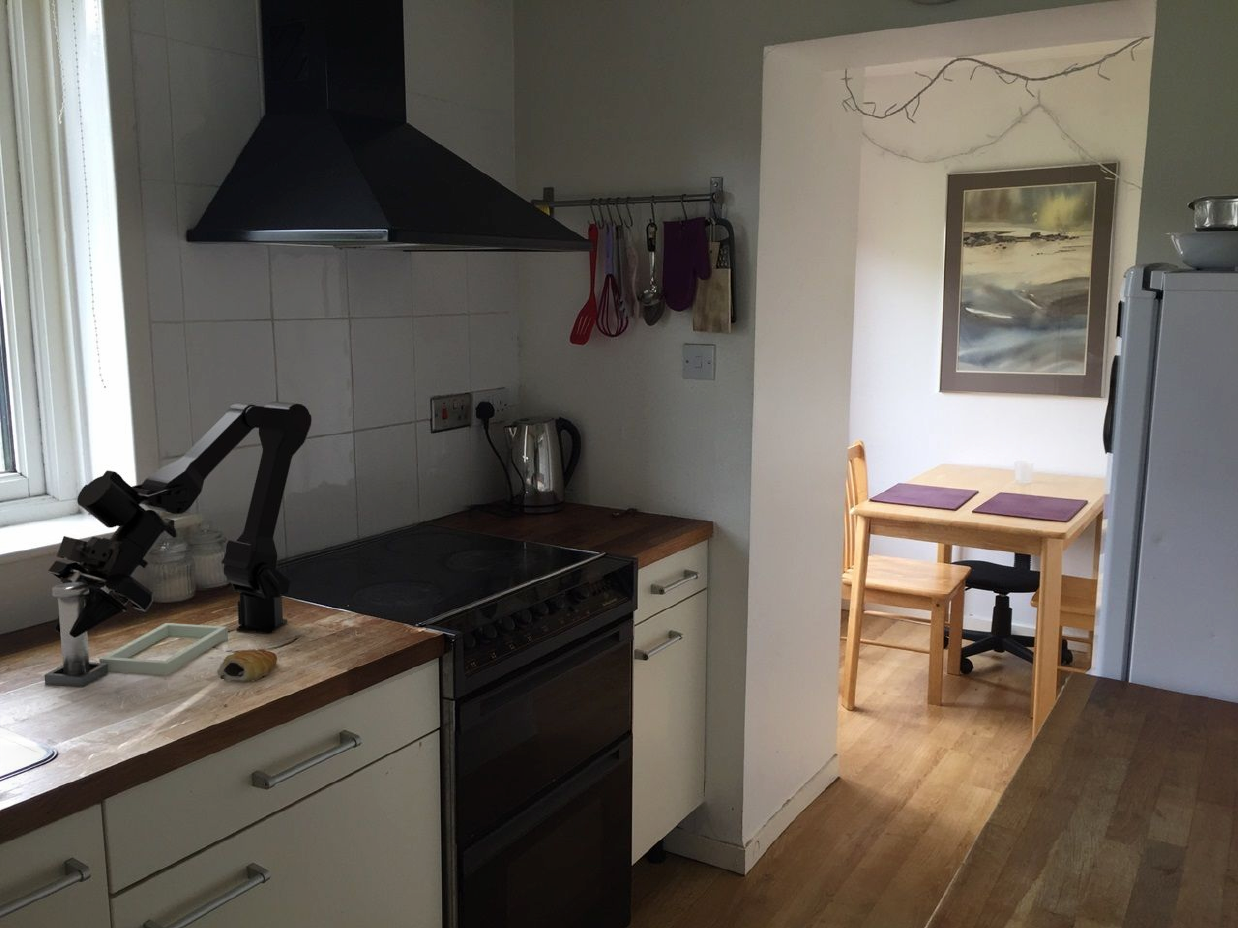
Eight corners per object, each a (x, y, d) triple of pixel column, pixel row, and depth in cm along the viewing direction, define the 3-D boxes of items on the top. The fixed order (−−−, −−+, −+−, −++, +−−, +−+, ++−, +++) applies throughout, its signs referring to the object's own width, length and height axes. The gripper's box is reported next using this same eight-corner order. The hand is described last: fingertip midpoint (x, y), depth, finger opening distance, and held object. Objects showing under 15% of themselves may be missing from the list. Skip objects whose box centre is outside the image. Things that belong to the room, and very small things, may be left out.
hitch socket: (108, 677, 164) (107, 663, 163) (83, 692, 158) (82, 677, 157) (71, 675, 165) (70, 660, 164) (45, 689, 159) (44, 674, 158)
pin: (102, 674, 163) (96, 583, 161) (81, 685, 158) (75, 592, 156) (72, 671, 164) (66, 581, 162) (51, 683, 159) (44, 590, 157)
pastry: (251, 660, 173) (250, 637, 172) (289, 665, 171) (288, 642, 170) (213, 680, 164) (212, 656, 163) (252, 686, 162) (252, 661, 161)
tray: (228, 641, 181) (227, 626, 181) (168, 679, 163) (167, 663, 163) (166, 637, 183) (165, 622, 182) (100, 674, 165) (99, 658, 165)
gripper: (56, 506, 165) (-13, 593, 158) (129, 522, 155) (59, 616, 148) (108, 547, 173) (45, 632, 166) (181, 565, 163) (116, 656, 156)
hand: (64, 633), depth 159 cm, fingers closed on pin, 3 cm apart
